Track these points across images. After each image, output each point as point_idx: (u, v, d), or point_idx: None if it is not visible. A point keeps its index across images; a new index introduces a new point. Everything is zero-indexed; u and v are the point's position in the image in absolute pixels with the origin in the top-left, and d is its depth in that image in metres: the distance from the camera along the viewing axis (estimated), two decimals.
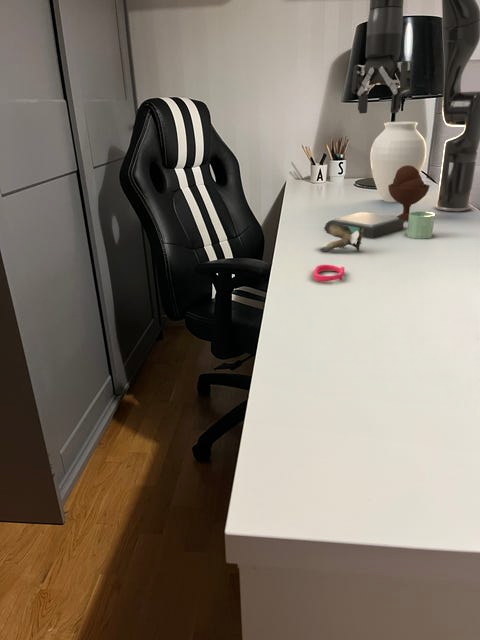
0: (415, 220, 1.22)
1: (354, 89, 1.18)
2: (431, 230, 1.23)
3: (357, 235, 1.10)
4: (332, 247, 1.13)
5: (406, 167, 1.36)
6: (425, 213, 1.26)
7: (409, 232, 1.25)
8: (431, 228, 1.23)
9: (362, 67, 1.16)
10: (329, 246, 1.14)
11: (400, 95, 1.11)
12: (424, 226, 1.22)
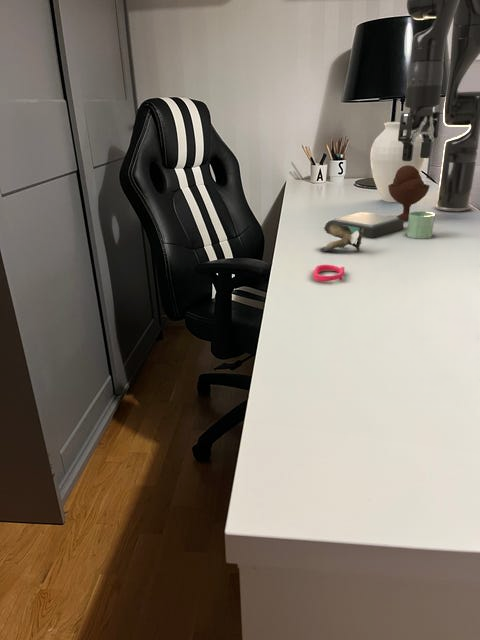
0: (415, 220, 1.22)
1: None
2: (431, 230, 1.23)
3: (357, 235, 1.10)
4: (332, 247, 1.13)
5: (406, 167, 1.36)
6: (425, 213, 1.26)
7: (409, 232, 1.25)
8: (431, 228, 1.23)
9: None
10: (329, 246, 1.14)
11: (406, 145, 1.14)
12: (424, 226, 1.22)
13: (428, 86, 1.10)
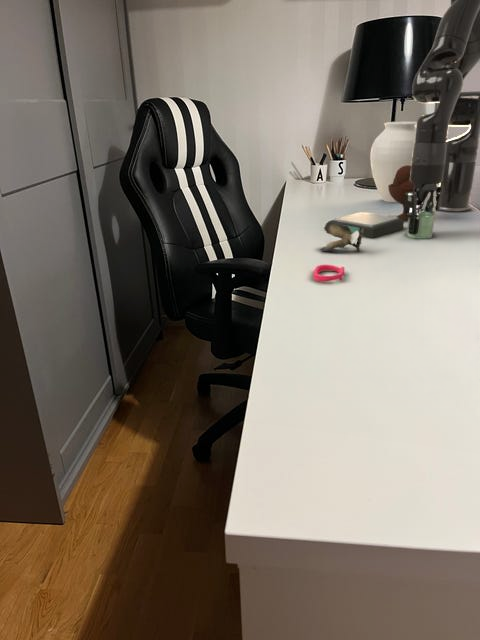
0: None
1: None
2: (431, 230, 1.23)
3: (357, 235, 1.10)
4: (332, 247, 1.13)
5: (406, 167, 1.36)
6: (425, 213, 1.26)
7: None
8: (431, 228, 1.23)
9: None
10: (329, 246, 1.14)
11: (412, 220, 1.21)
12: (424, 226, 1.22)
13: (431, 165, 1.16)
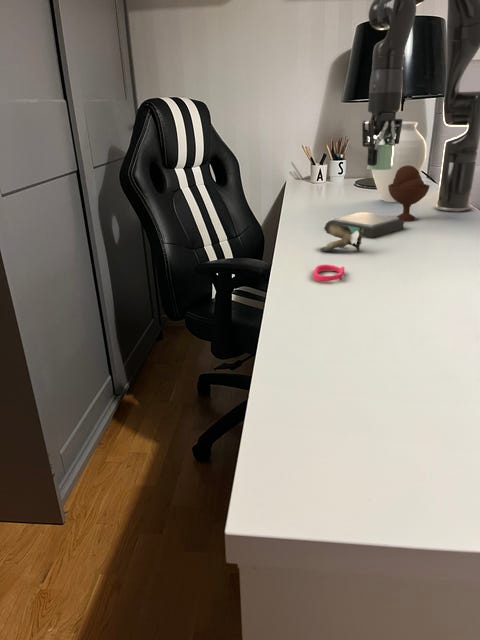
0: None
1: None
2: (390, 161, 1.23)
3: (357, 235, 1.10)
4: (332, 247, 1.13)
5: (406, 167, 1.36)
6: (385, 146, 1.26)
7: None
8: (390, 159, 1.23)
9: None
10: (329, 246, 1.14)
11: (370, 150, 1.22)
12: (382, 157, 1.22)
13: (388, 92, 1.16)
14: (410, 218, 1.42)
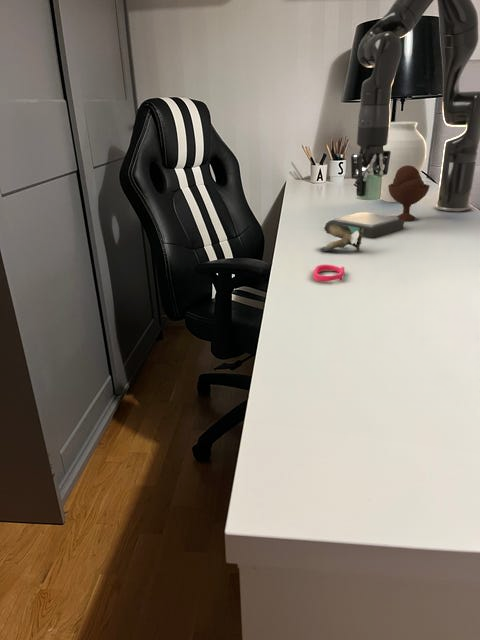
0: None
1: None
2: (378, 192, 1.28)
3: (357, 235, 1.10)
4: (332, 247, 1.13)
5: (406, 167, 1.36)
6: (374, 176, 1.30)
7: None
8: (378, 190, 1.27)
9: None
10: (329, 246, 1.14)
11: (359, 182, 1.26)
12: (371, 188, 1.26)
13: (375, 128, 1.20)
14: (410, 218, 1.42)
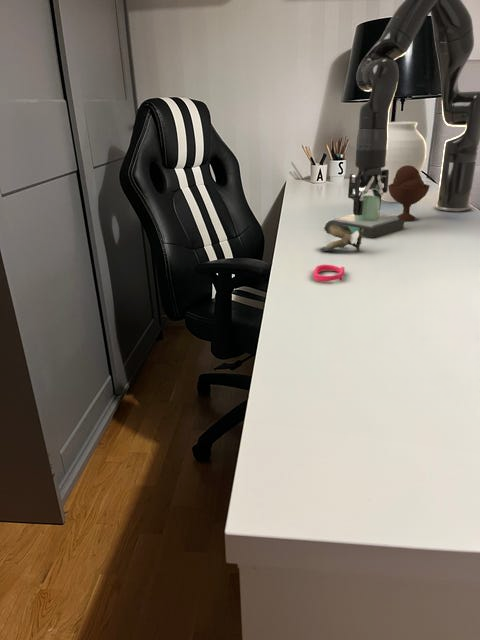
0: None
1: None
2: (376, 212, 1.30)
3: (357, 235, 1.10)
4: (332, 247, 1.13)
5: (406, 167, 1.36)
6: (372, 196, 1.32)
7: None
8: (376, 210, 1.29)
9: None
10: (329, 246, 1.14)
11: (356, 201, 1.27)
12: (369, 208, 1.29)
13: (373, 150, 1.22)
14: (410, 218, 1.42)
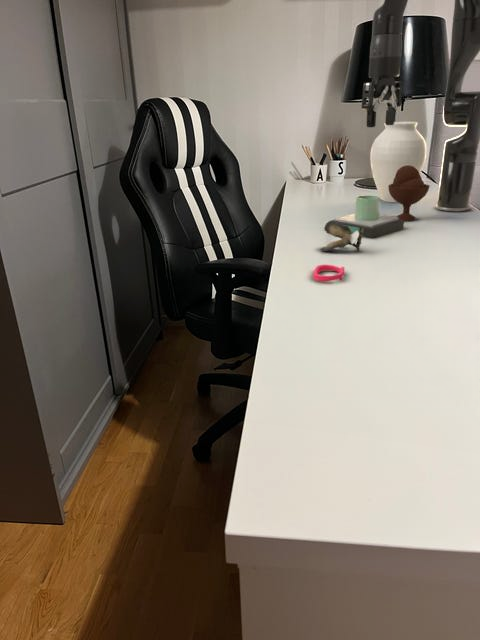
0: (361, 203, 1.29)
1: None
2: (376, 212, 1.30)
3: (357, 235, 1.10)
4: (332, 247, 1.13)
5: (406, 167, 1.36)
6: (372, 196, 1.32)
7: (356, 214, 1.31)
8: (376, 210, 1.29)
9: None
10: (329, 246, 1.14)
11: (369, 112, 1.26)
12: (369, 208, 1.29)
13: (387, 57, 1.21)
14: (410, 218, 1.42)
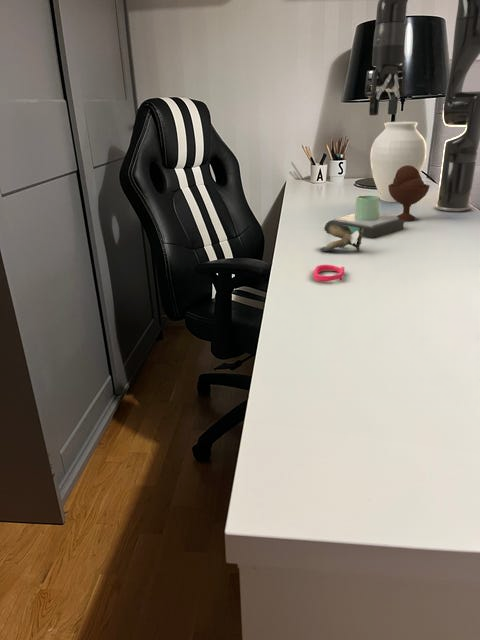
0: (361, 203, 1.29)
1: None
2: (376, 212, 1.30)
3: (357, 235, 1.10)
4: (332, 247, 1.13)
5: (406, 167, 1.36)
6: (372, 196, 1.32)
7: (356, 214, 1.31)
8: (376, 210, 1.29)
9: None
10: (329, 246, 1.14)
11: (372, 100, 1.27)
12: (369, 208, 1.29)
13: (391, 45, 1.22)
14: (410, 218, 1.42)
